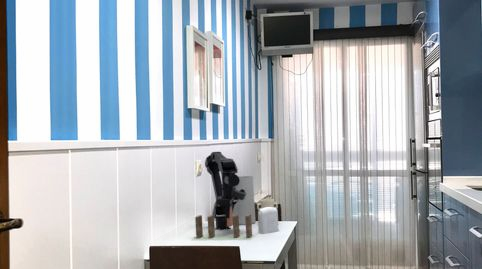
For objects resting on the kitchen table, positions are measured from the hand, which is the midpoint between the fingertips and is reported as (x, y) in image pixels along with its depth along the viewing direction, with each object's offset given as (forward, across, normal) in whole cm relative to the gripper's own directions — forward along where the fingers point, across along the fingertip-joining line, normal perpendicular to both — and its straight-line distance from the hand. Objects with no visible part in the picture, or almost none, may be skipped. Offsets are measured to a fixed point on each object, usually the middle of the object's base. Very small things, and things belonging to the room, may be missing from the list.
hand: (229, 217), depth 246 cm
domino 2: (+8, -11, +6) cm, 15 cm away
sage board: (+8, -11, 0) cm, 14 cm away
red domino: (+4, 0, 0) cm, 4 cm away
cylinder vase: (+8, +30, +1) cm, 31 cm away
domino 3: (+8, -11, -6) cm, 14 cm away
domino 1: (+8, -11, +12) cm, 18 cm away
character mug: (+8, +25, -14) cm, 30 cm away
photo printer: (+8, +2, -19) cm, 20 cm away
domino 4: (+8, -11, -12) cm, 18 cm away
